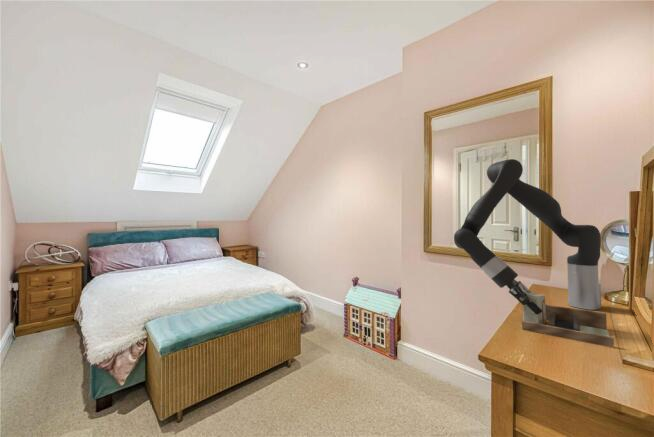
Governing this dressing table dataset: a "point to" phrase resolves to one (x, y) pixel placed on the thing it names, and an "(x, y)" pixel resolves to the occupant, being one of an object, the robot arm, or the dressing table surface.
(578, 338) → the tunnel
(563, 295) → the dressing table surface
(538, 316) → the skincare box
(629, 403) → the dressing table surface
